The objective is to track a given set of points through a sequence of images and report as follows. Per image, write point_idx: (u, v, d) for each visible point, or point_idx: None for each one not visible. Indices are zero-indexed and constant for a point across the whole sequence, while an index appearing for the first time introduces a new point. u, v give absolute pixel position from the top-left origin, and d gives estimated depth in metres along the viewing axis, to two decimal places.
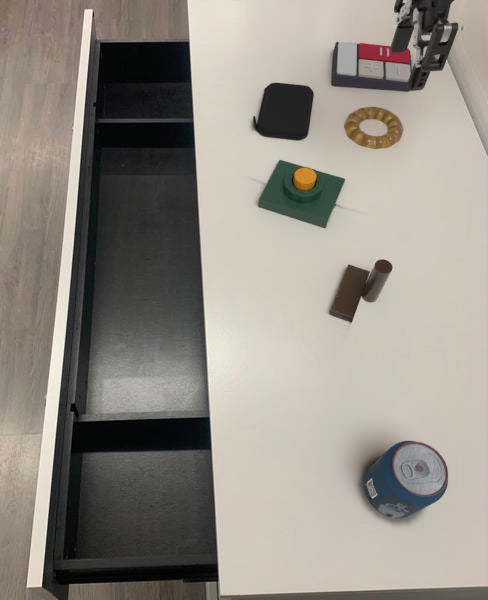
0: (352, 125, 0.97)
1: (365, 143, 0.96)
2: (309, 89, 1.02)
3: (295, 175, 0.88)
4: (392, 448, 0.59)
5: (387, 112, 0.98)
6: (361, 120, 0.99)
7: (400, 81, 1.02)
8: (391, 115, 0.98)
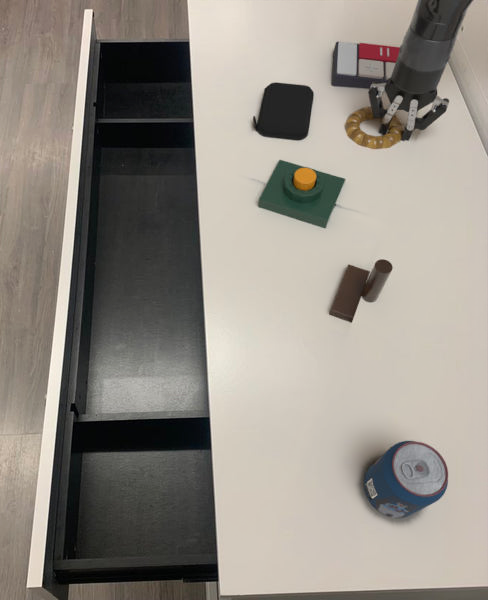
0: (352, 125, 0.97)
1: (365, 143, 0.96)
2: (309, 89, 1.02)
3: (295, 175, 0.88)
4: (392, 448, 0.59)
5: None
6: (361, 120, 0.99)
7: None
8: None
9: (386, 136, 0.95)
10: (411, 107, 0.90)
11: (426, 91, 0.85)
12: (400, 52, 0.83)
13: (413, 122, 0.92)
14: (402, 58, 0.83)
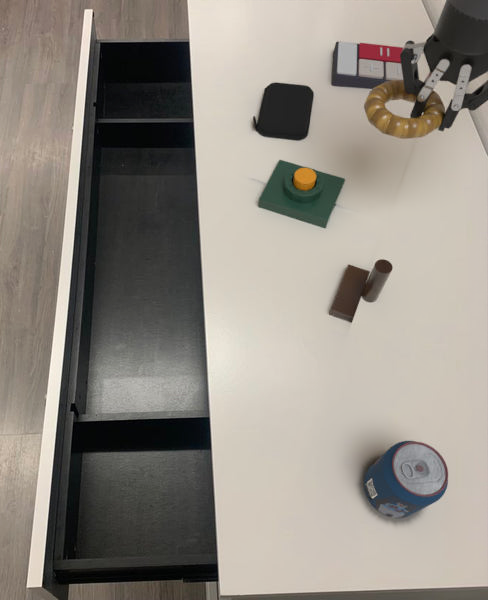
0: (376, 103, 0.71)
1: (393, 127, 0.70)
2: (309, 89, 1.02)
3: (295, 175, 0.88)
4: (392, 448, 0.59)
5: None
6: (387, 97, 0.73)
7: None
8: None
9: (422, 118, 0.70)
10: (461, 76, 0.64)
11: (486, 51, 0.59)
12: None
13: (461, 99, 0.67)
14: (454, 1, 0.57)
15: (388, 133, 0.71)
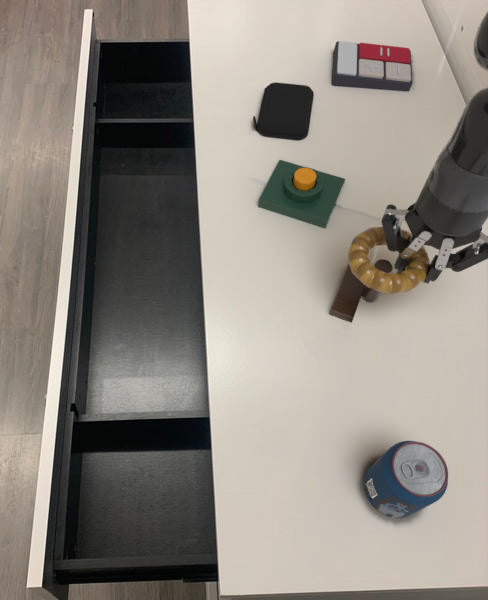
0: (359, 256, 0.70)
1: (377, 284, 0.69)
2: (309, 89, 1.02)
3: (295, 175, 0.88)
4: (392, 448, 0.59)
5: (407, 236, 0.71)
6: (371, 246, 0.72)
7: (400, 81, 1.02)
8: None
9: (406, 275, 0.68)
10: (443, 246, 0.63)
11: (467, 233, 0.58)
12: (431, 180, 0.56)
13: (445, 261, 0.65)
14: (434, 190, 0.56)
15: (372, 288, 0.69)
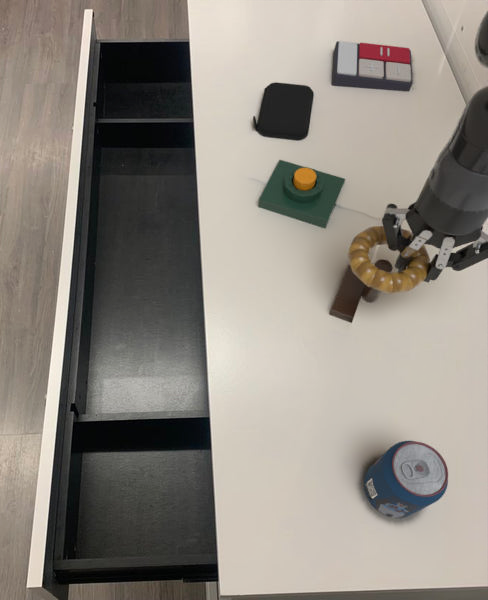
0: (359, 256, 0.70)
1: (378, 284, 0.68)
2: (309, 89, 1.02)
3: (295, 175, 0.88)
4: (392, 448, 0.59)
5: (407, 235, 0.71)
6: (371, 245, 0.72)
7: (400, 81, 1.02)
8: None
9: (406, 274, 0.68)
10: (444, 245, 0.62)
11: (468, 232, 0.58)
12: (431, 179, 0.56)
13: (445, 261, 0.65)
14: (435, 189, 0.56)
15: (372, 287, 0.69)
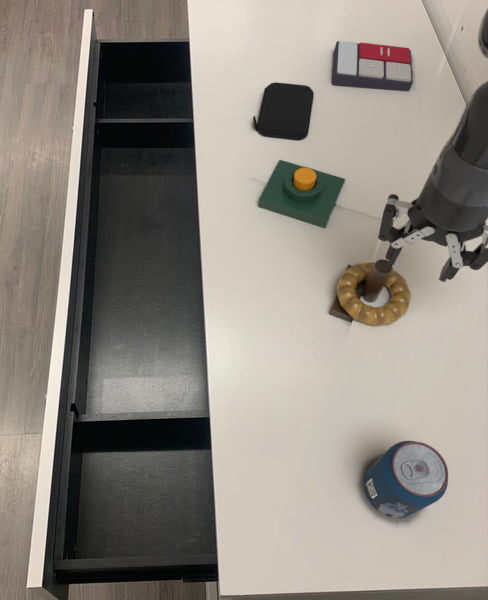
0: (347, 291, 0.77)
1: (363, 317, 0.76)
2: (309, 89, 1.02)
3: (295, 175, 0.88)
4: (392, 448, 0.59)
5: None
6: (358, 281, 0.79)
7: (400, 81, 1.02)
8: (395, 277, 0.78)
9: (389, 309, 0.76)
10: (446, 242, 0.62)
11: (471, 228, 0.57)
12: (434, 174, 0.56)
13: (460, 258, 0.64)
14: (437, 184, 0.55)
15: (359, 320, 0.77)
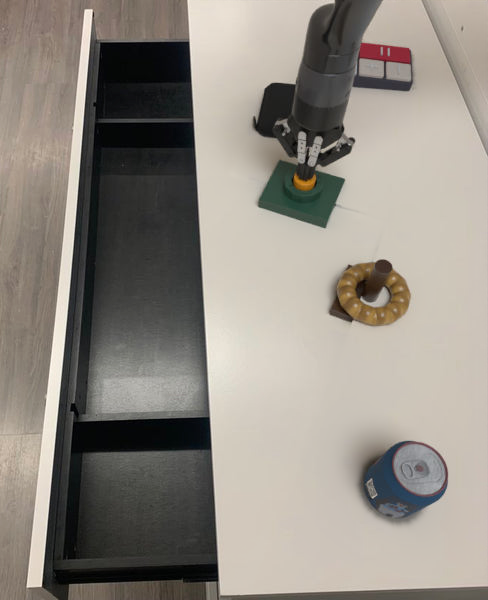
0: (347, 291, 0.77)
1: (363, 317, 0.76)
2: None
3: (294, 177, 0.88)
4: (392, 448, 0.59)
5: None
6: (358, 281, 0.79)
7: (400, 80, 1.02)
8: (395, 277, 0.78)
9: (389, 309, 0.76)
10: (316, 144, 0.79)
11: (327, 128, 0.75)
12: (296, 84, 0.73)
13: (315, 159, 0.82)
14: (298, 91, 0.72)
15: (359, 320, 0.77)
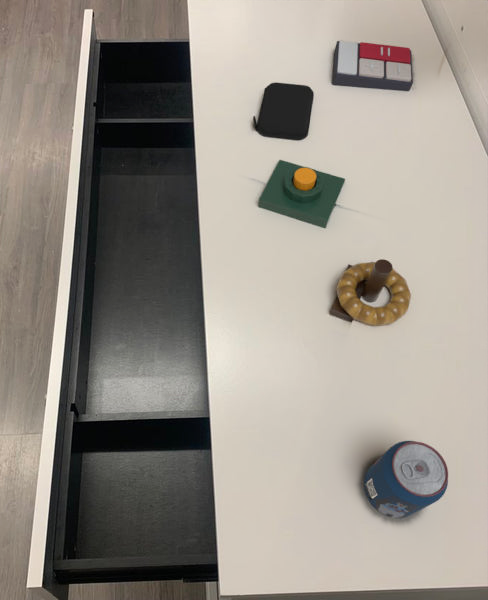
0: (347, 291, 0.77)
1: (363, 317, 0.76)
2: (309, 89, 1.02)
3: (295, 175, 0.88)
4: (392, 448, 0.59)
5: None
6: (358, 281, 0.79)
7: (400, 80, 1.02)
8: (395, 277, 0.78)
9: (389, 309, 0.76)
10: None
11: None
12: None
13: None
14: None
15: (359, 320, 0.77)
